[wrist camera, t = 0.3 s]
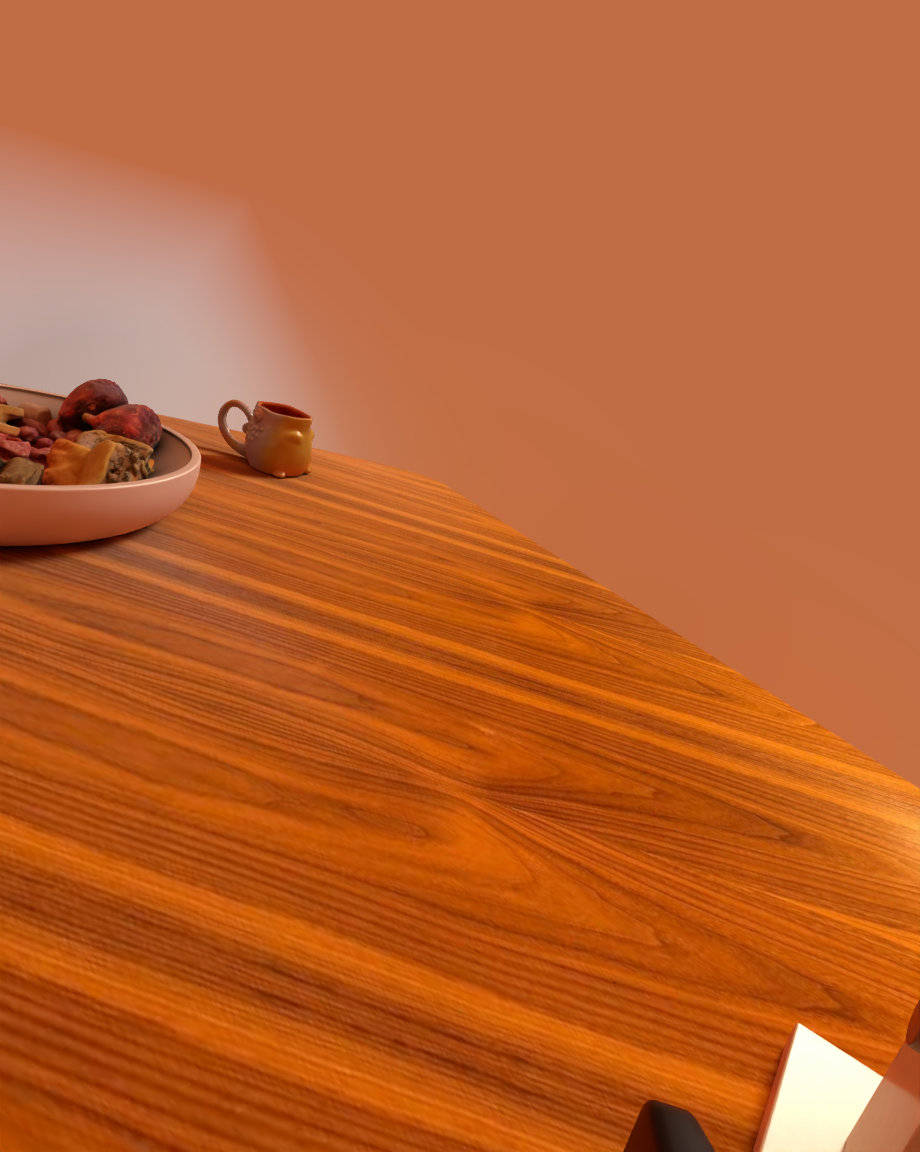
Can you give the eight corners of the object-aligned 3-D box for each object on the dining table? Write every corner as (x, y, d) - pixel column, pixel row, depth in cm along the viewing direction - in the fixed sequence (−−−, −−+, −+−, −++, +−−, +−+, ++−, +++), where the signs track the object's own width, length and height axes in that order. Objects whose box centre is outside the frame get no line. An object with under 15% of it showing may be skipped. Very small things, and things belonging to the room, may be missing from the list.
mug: (321, 476, 83) (331, 417, 81) (279, 481, 77) (290, 418, 75) (239, 445, 87) (247, 388, 85) (194, 448, 81) (202, 387, 79)
